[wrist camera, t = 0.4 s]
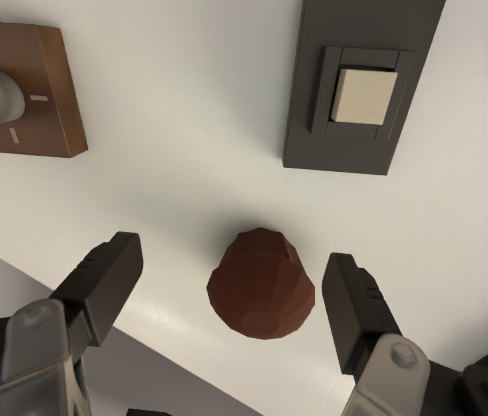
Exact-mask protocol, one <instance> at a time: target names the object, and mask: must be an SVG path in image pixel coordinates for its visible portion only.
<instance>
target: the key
mask: <svg viewBox="0 0 488 416" xmlns="http://www.w3.org/2000/svg"><path fill="white" fill-rule="evenodd" d="M396 77H397V73H396V72H381V71H366V70H351V69H341V70H340V75H339V80H338V85H337V90H336V94H335V99H334V104H333V109H332V114H331V118H332V119H333V120H335V121H336V122H350V123H364V124H378V125H382V124H383V120H384V117H385V114H386V110H387V107H388V104H389V100H390V97H391V94H392V90H393V87H394V84H395V80H396Z"/></svg>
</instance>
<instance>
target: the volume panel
mask: <svg viewBox="0 0 488 416" xmlns="http://www.w3.org/2000/svg"><path fill="white" fill-rule="evenodd" d="M0 71H2V72H4V73H5V74H7V75H8V76H9V77H11V78H12V79H13V80H14V81H15V83H16V84H17V85H18V87H19V88H20V90H21V92H22V94H23V97H24V101H25V110H24V113H23V114H22V116H21V117H20V118H18V119H17V120H13V121H9V122H4V123H0V153H12V154H24V155H37V156H49V157H62V158H72V157H74V156H76V155H78V154H80V153H82V152H84V151H86V150H88V147H87V143H86V138H85V134H84V130H83V125H82V121H81V117H80V112H79V108H78V104H77V99H76V95H75V91H74V86H73V82H72V78H71V73H70V69H69V65H68V60H67V56H66V52H65V47H64V43H63V39H62V34H61V30H60V29H59V28H53V27H47V26H41V25H35V24H19V23H3V22H0Z"/></svg>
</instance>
